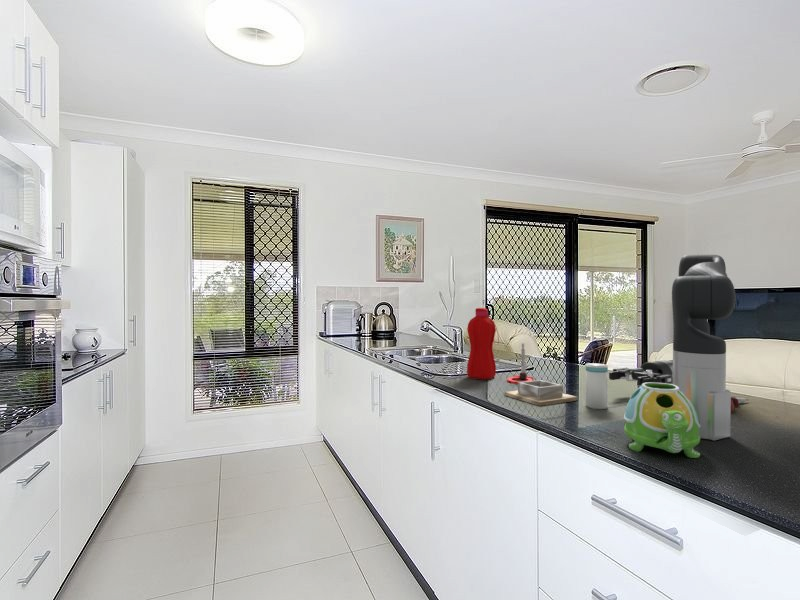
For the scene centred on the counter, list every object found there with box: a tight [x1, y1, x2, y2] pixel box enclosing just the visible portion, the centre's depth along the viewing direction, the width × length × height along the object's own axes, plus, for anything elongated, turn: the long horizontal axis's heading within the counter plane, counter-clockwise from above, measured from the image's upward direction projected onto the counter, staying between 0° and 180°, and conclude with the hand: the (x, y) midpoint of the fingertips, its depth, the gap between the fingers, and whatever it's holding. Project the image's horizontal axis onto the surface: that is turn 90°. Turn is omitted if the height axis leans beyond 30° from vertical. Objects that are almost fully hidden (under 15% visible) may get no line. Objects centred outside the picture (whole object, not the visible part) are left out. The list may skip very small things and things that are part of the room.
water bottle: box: [466, 307, 500, 381], centre depth 154 cm, size 9×11×25 cm
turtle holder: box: [623, 382, 701, 459], centre depth 80 cm, size 12×18×12 cm
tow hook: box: [506, 342, 534, 385], centre depth 147 cm, size 8×13×9 cm
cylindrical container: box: [585, 362, 609, 410], centre depth 113 cm, size 5×5×11 cm
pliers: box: [731, 396, 749, 413], centre depth 115 cm, size 12×20×3 cm, turn 116°
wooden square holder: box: [503, 379, 578, 407], centre depth 123 cm, size 14×14×4 cm
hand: (624, 378), depth 118 cm, fingers open, 8 cm apart
